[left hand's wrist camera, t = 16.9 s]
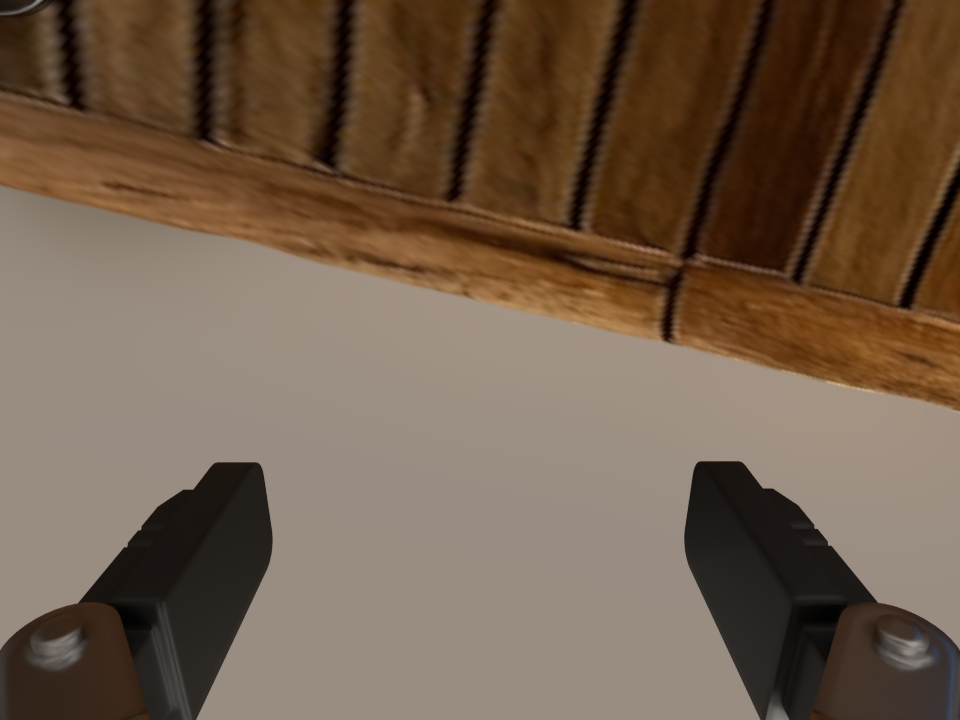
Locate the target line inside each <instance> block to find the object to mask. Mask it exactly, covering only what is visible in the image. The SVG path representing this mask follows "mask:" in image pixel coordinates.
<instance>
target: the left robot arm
mask: <svg viewBox="0 0 960 720" xmlns="http://www.w3.org/2000/svg"><path fill="white" fill-rule="evenodd" d="M52 1H53V0H0V16H3V17H22V16H27V15H31V14H34V13H36V12H38V11H40V10H42V9H44V8H45V7H47V6H48V5H49V4H50V3H52ZM272 540H273V539H272V528H271V521H270V514H269V508H268V501H267V494H266V487H265V481H264V474H263V470H262V468H261V466H260V464H259V463H256V462H217V463H215V464H213V465H212V466H211V467H210V469H209V470H208V471H207V473H206V474H205V475H204V476H203V478H202V479H201V480H200V482H199V483H198V484H197V486H196V487H195V488H194V489H193V490H182V491H181V492H179V493H178V494H176V495H175V496H173V497H172V498H170V499H169V500H167V501H166V502H164V503H163V504H161V505H160V506H158V507H157V508H156V510H155V511H154V512H153V513H152V514H151V516H150V517H149V518H148V519H147V520H146V522H145V523H144V524H143V525H142V529H141V531H137V533H136V534H135V535H134V536H133V537H132V539H131V540H130V541H129V542H128V547H124V548H123V550H122V551H121V552H120V553H119V554H118V556H117V557H116V558H115V559H114V560H113V562H112V563H111V564H110V565H109V566H108V568H107V569H106V570H105V571H104V572H103V574H102V575H101V576H100V577H99V578H98V580H97V581H96V582H95V583H94V585H93V586H92V587H91V588H90V589H89V591H88V592H87V593H86V594H85V595H84V597H83V598H82V599H81V600H80V601H79V603H78V604H73V605H69V606H65V607H62V608H59V609H56V610H53V611H51V612H49V613H46V614H44V615H42V616H40V617H38V618H37V619H35V620H33V621H32V622H30V623H28V624H27V625H25V626H24V627H23V628H21V629H20V630H19V631H17V632H16V633H15V634H14V635H13V636H12V637H11V638H10V639H9V640H8V641H7V642H6V643H5V644H4V646H3V647H2V648H1V650H0V720H196V719H197V716H198V714H199V712H200V710H201V708H202V706H203V704H204V702H205V700H206V697H207V695H208V693H209V691H210V689H211V687H212V685H213V683H214V680H215V678H216V676H217V674H218V672H219V670H220V668H221V666H222V664H223V661H224V659H225V657H226V655H227V653H228V651H229V649H230V647H231V644H232V642H233V640H234V638H235V636H236V634H237V632H238V630H239V627H240V625H241V623H242V621H243V619H244V617H245V615H246V613H247V611H248V608H249V606H250V604H251V602H252V600H253V598H254V596H255V593H256V591H257V589H258V587H259V585H260V583H261V581H262V579H263V576H264V574H265V572H266V570H267V568H268V565H269V562H270V558H271V553H272ZM684 542H685V552H686V557H687V561H688V565H689V567H690V569H691V571H692V574H693V576H694V578H695V580H696V582H697V584H698V587H699V589H700V591H701V593H702V595H703V597H704V599H705V601H706V604H707V606H708V608H709V610H710V612H711V614H712V617H713V619H714V621H715V623H716V625H717V627H718V629H719V632H720V634H721V636H722V638H723V640H724V642H725V644H726V647H727V649H728V651H729V653H730V655H731V657H732V659H733V662H734V664H735V666H736V668H737V670H738V672H739V675H740V677H741V679H742V681H743V683H744V685H745V687H746V689H747V692H748V694H749V696H750V698H751V700H752V702H753V705H754V707H755V709H756V711H757V713H758V715H759V717H760V719H761V720H960V650H959V648H958V647H957V646H956V644H955V643H954V642H953V641H952V640H951V639H950V638H949V637H948V636H947V635H946V634H945V633H944V632H943V631H941V630H940V629H939V628H937V627H936V626H935V625H933V624H932V623H930V622H928V621H927V620H925V619H923V618H921V617H920V616H918V615H916V614H914V613H911V612H909V611H907V610H904V609H901V608H898V607H895V606H891V605H887V604H882V603H878V602H877V601H876V600H875V599H874V597H873V596H872V595H871V594H870V593H869V591H868V590H867V589H866V588H865V586H864V585H863V584H862V583H861V581H860V580H859V579H858V578H857V577H856V575H855V574H854V573H853V572H852V570H851V569H850V568H849V567H848V566H847V564H846V563H845V562H844V561H843V559H842V558H841V557H840V556H839V555H838V553H837V552H836V551H835V550H834V549H833V547H832V546H828V541H827V540H826V539H825V538H824V536H823V535H822V534H821V533H820V531H819V530H818V529H815V528H814V524H813V523H812V522H811V521H810V519H809V518H808V517H807V516H806V514H805V513H804V512H803V511H802V510H801V508H800V507H799V506H798V505H797V504H795V503H794V502H792V501H791V500H789V499H788V498H786V497H785V496H783V495H782V494H780V493H779V492H777V491H775V490H774V489H763V488H762V487H761V485H760V484H759V483H758V482H757V480H756V479H755V478H754V476H753V475H752V474H751V472H750V471H749V470H748V468H747V467H746V466H745V465H744V464H743V463H742V462H739V461H701V462H698V463H697V464H696V466H695V468H694V472H693V478H692V485H691V492H690V498H689V505H688V512H687V519H686V526H685V534H684Z"/></svg>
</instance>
